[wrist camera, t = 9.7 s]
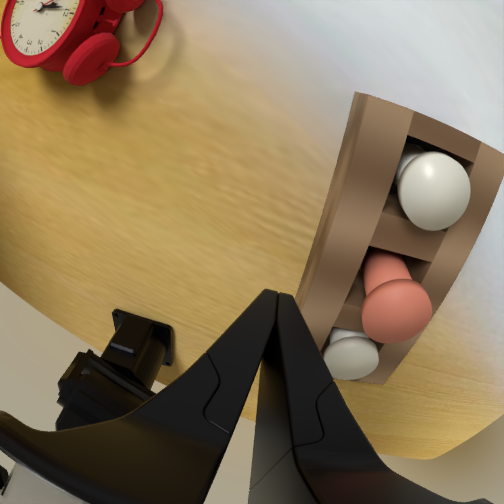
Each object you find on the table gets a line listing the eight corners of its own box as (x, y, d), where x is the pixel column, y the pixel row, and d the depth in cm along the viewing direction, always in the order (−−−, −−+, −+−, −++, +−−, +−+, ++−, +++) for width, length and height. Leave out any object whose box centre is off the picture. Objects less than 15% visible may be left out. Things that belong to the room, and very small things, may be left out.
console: (378, 348, 26) (384, 384, 23) (283, 331, 27) (279, 368, 23) (478, 141, 16) (511, 158, 12) (354, 91, 16) (369, 94, 12)
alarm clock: (26, -55, 8) (143, -67, 7) (80, -44, 13) (206, -29, 12) (-19, 59, 13) (59, 118, 12) (37, 54, 19) (134, 109, 18)
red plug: (395, 294, 20) (411, 347, 16) (344, 282, 20) (351, 337, 16) (419, 247, 18) (444, 296, 14) (365, 232, 18) (380, 282, 14)
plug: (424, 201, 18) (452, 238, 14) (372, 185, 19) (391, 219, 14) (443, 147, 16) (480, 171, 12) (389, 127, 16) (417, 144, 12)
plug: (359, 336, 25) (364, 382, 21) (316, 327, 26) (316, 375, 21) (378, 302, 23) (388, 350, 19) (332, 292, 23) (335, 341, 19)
